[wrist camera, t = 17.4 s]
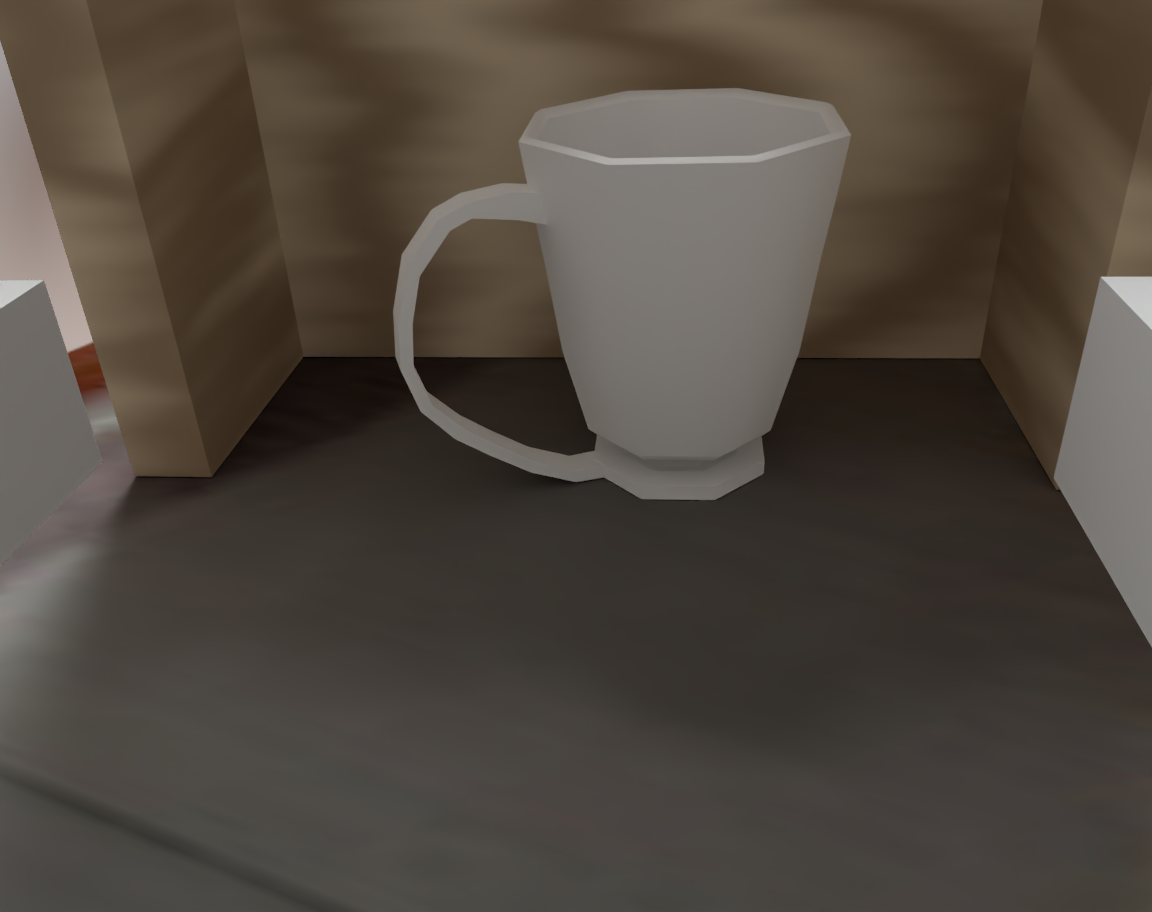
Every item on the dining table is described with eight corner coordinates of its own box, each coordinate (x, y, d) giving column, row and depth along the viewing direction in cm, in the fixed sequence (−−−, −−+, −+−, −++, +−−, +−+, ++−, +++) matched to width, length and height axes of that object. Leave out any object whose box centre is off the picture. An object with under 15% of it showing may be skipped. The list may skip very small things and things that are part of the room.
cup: (881, 499, 23) (929, 136, 19) (447, 594, 21) (395, 203, 17) (746, 373, 29) (760, 75, 25) (396, 436, 26) (347, 119, 22)
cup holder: (1039, 329, 30) (1211, -505, 21) (1158, 491, 23) (1515, -712, 13) (258, 330, 33) (96, -416, 23) (126, 475, 25) (-194, -548, 16)
